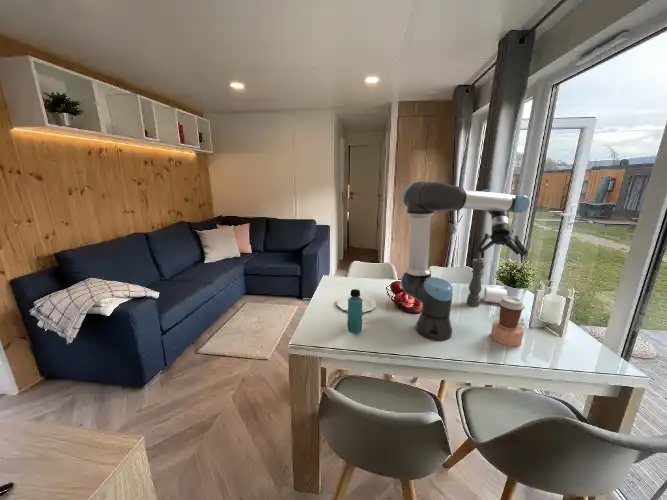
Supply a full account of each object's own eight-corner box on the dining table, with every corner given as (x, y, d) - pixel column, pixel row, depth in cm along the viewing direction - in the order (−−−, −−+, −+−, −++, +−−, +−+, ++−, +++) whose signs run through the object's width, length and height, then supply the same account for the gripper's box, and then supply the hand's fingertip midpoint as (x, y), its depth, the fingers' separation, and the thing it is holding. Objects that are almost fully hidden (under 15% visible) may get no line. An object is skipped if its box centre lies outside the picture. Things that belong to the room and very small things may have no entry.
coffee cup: (518, 334, 112) (523, 306, 109) (493, 326, 117) (497, 300, 114) (522, 325, 118) (527, 299, 115) (497, 318, 124) (502, 293, 121)
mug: (505, 306, 150) (508, 292, 148) (484, 303, 153) (486, 290, 151) (501, 298, 161) (503, 285, 159) (482, 295, 164) (484, 282, 162)
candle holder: (479, 303, 153) (485, 259, 147) (479, 307, 148) (485, 262, 142) (466, 301, 156) (472, 258, 150) (466, 305, 151) (472, 260, 145)
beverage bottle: (364, 332, 123) (366, 290, 118) (354, 338, 118) (356, 294, 114) (353, 327, 128) (355, 286, 123) (343, 332, 123) (344, 290, 118)
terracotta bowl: (509, 348, 112) (512, 335, 111) (485, 335, 122) (487, 322, 120) (527, 342, 116) (529, 329, 115) (502, 329, 126) (504, 317, 125)
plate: (378, 315, 140) (378, 312, 139) (336, 314, 140) (336, 311, 140) (373, 298, 160) (373, 295, 159) (336, 297, 160) (336, 294, 160)
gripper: (527, 234, 134) (531, 273, 124) (470, 230, 142) (469, 266, 132) (533, 224, 128) (537, 265, 117) (473, 221, 136) (472, 258, 126)
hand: (501, 266), depth 125 cm, fingers open, 13 cm apart
